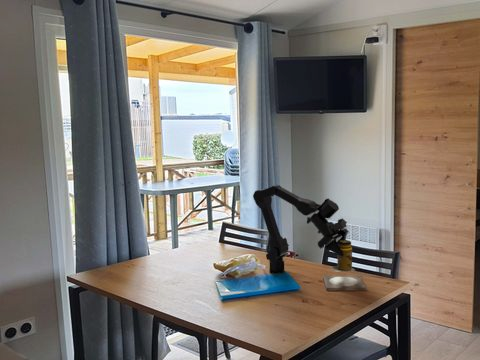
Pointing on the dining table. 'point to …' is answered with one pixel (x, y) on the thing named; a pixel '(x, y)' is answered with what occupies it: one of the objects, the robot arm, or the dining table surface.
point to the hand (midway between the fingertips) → (346, 253)
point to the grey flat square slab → (343, 283)
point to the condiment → (344, 257)
